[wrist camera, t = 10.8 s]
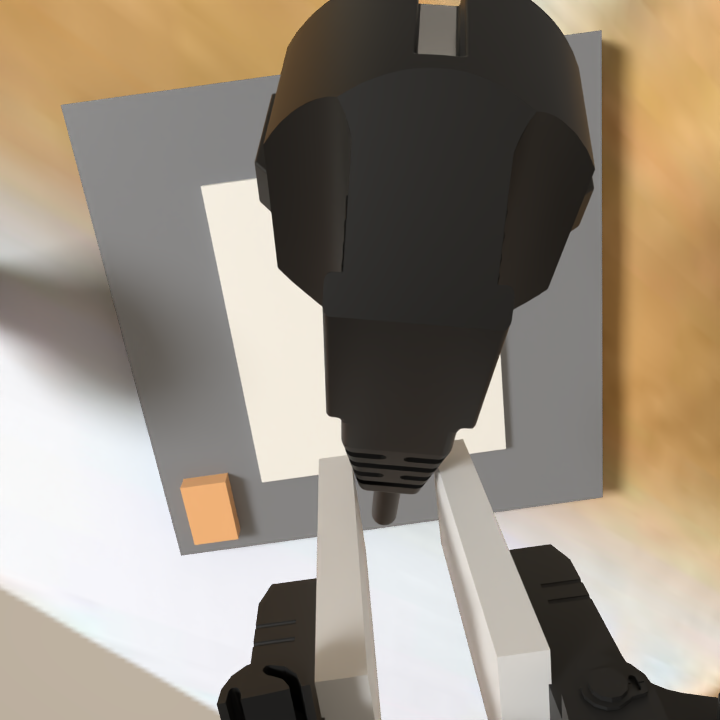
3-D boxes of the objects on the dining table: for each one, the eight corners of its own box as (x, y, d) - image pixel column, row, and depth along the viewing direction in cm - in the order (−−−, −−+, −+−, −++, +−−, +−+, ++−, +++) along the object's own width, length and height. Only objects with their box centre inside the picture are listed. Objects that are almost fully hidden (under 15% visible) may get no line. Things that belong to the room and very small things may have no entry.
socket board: (74, 105, 26) (52, 104, 24) (586, 34, 26) (610, 28, 24) (187, 536, 33) (177, 566, 31) (591, 481, 33) (609, 506, 31)
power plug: (273, 533, 18) (186, 169, 8) (309, 305, 22) (284, -122, 12) (491, 553, 18) (691, 208, 8) (485, 319, 22) (608, -101, 12)
